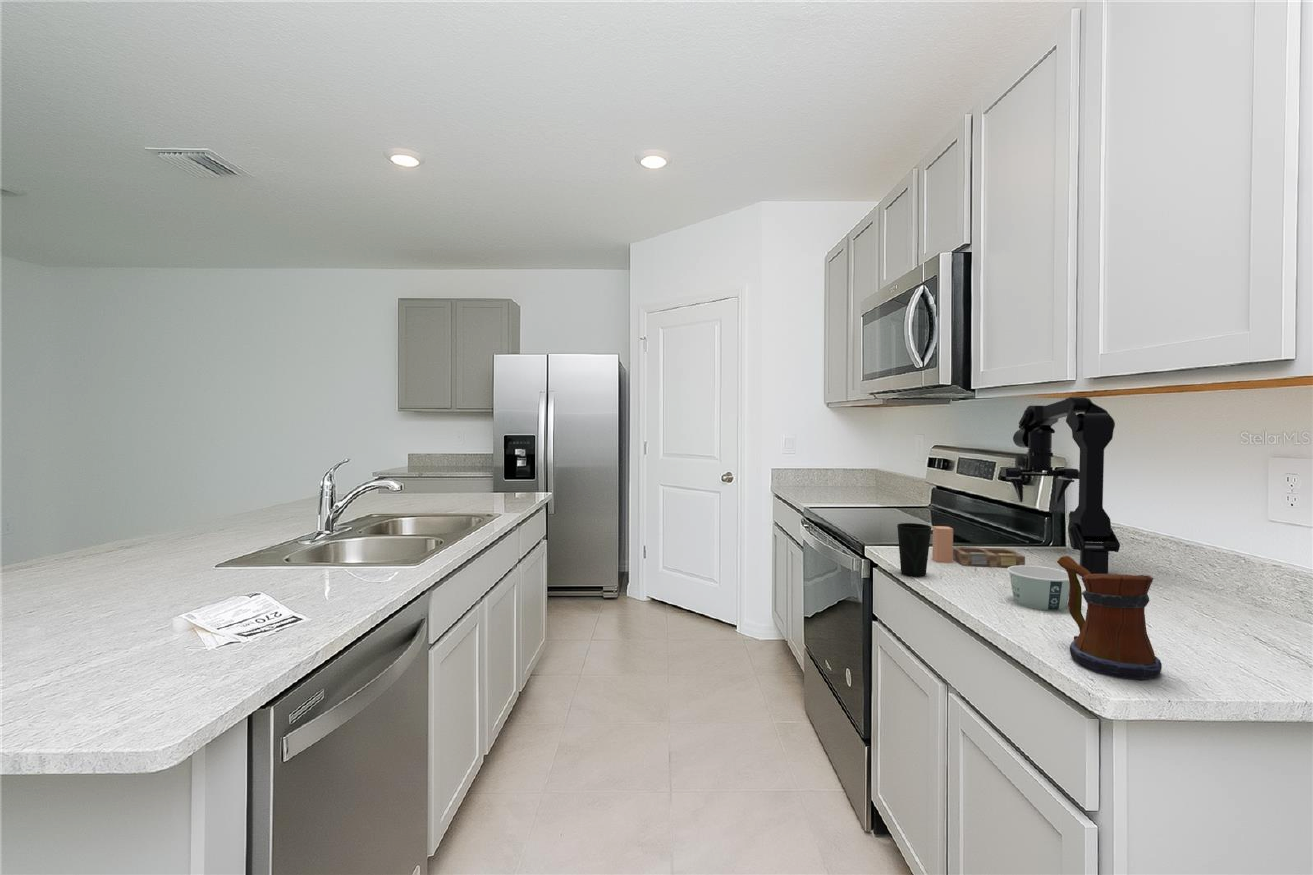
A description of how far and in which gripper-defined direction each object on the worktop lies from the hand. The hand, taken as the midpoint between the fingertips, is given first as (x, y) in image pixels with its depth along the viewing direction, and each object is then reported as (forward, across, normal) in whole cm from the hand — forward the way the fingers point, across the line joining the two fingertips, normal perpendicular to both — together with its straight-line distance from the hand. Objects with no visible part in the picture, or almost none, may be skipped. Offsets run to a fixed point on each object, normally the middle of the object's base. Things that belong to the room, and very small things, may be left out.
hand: (1038, 502), depth 176 cm
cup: (+15, +39, +39) cm, 57 cm away
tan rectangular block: (+14, +29, +21) cm, 39 cm away
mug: (+15, +18, +87) cm, 90 cm away
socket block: (+14, +18, +20) cm, 30 cm away
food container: (+15, +17, +57) cm, 61 cm away
